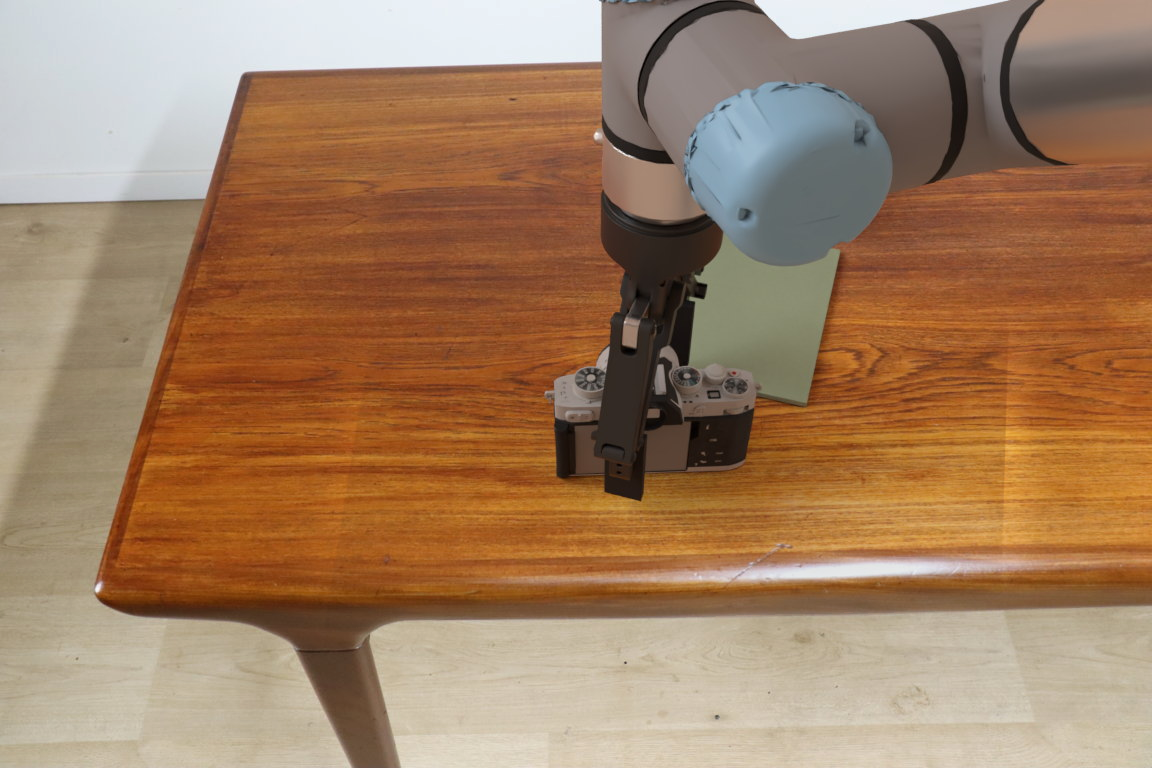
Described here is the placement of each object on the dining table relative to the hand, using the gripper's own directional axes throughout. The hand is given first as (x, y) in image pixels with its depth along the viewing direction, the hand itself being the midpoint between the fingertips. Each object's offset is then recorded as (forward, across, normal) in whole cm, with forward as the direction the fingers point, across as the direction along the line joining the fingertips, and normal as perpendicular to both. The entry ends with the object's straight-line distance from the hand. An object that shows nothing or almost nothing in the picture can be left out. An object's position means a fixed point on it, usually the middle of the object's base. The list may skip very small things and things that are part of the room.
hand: (649, 423), depth 72 cm
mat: (+2, -17, +3) cm, 17 cm away
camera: (+2, 0, 0) cm, 2 cm away
